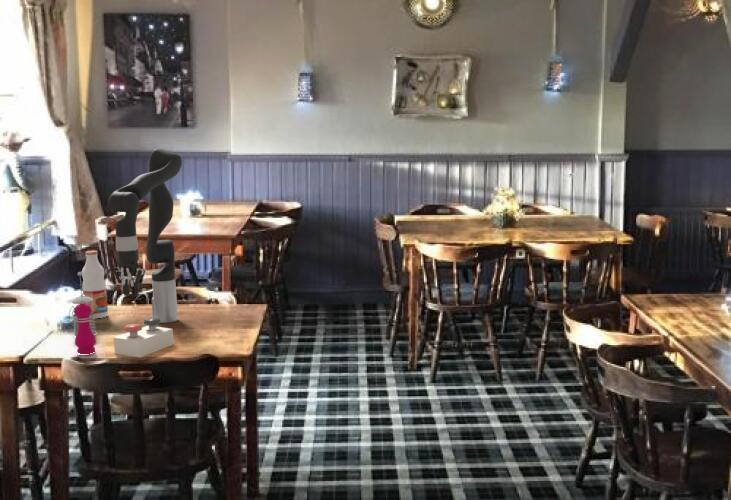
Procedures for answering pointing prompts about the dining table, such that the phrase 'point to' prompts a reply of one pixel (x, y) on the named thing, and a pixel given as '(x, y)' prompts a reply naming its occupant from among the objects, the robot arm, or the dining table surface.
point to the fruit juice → (95, 285)
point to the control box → (143, 342)
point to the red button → (133, 329)
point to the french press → (76, 301)
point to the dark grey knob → (152, 323)
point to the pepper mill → (84, 329)
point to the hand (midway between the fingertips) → (130, 295)
